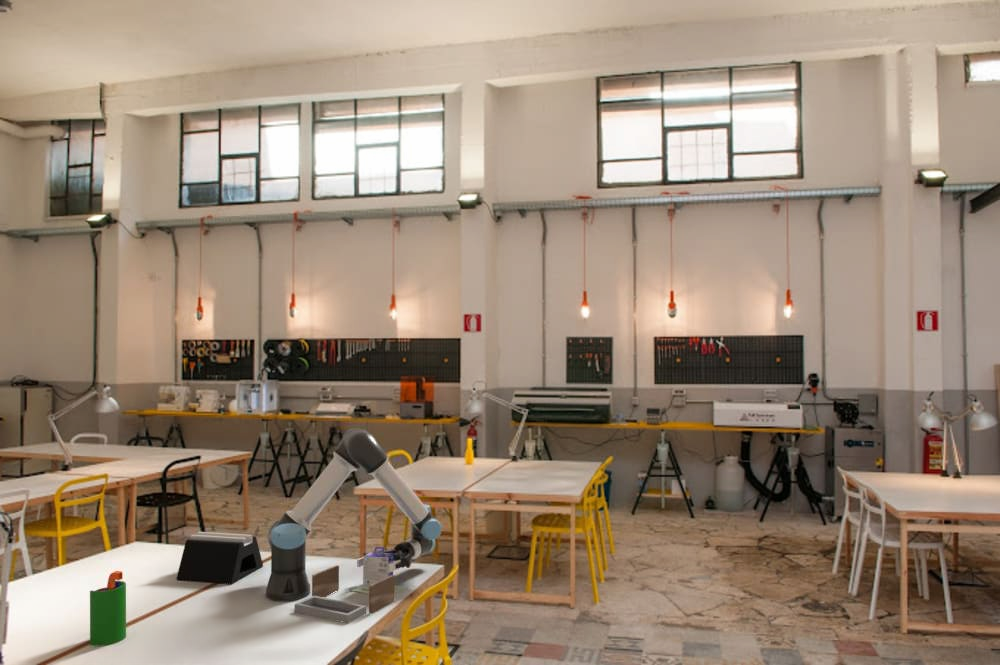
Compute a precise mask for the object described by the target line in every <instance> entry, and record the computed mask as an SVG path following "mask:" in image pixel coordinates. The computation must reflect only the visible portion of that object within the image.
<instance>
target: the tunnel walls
mask: <svg viewBox="0 0 1000 665" xmlns="http://www.w3.org/2000/svg"><path fill="white" fill-rule="evenodd" d="M395 577H396V576H395V575H394V574H393V575H391V576H389V577H387V578H384V579H382V580H380V581H378V582H376V583H374V584H372V585H369V594H368V614H370V613H371V614H370V615H372V614H374V613H376V612H377V611H379V609H380V610H381V609H384V608H385V607H387V606H389V605H390V604H393V603H395V594H394V593H395V585H396V584H395V583H396V582H395ZM311 584H312V585H311V597H312V596H318V597H324V598H326V597H328V596H327V595H329V594H331V593H333V592H335V591H338V590H340V565H337V564H336V565H334V566H331V567H328V568H327V569H324V570H322V571H319V572H317V573H314V574H311ZM338 592H339V591H338ZM335 593H336V592H335ZM333 594H334V593H333ZM331 595H332V594H331ZM325 596H326V597H325ZM329 596H330V595H329ZM375 611H376V612H375ZM373 612H374V613H373Z"/></svg>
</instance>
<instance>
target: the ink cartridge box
mask: <svg viewBox="0 0 1000 665" xmlns="http://www.w3.org/2000/svg"><path fill="white" fill-rule="evenodd" d="M374 547H375V548H374V551H373V552H374V553H371V552H372V551H369V553H368V552H366V553H367V554H366V555H364V554H363V556H362V557H363V566H362V571H363V572H362V581H363V582H362V584H363V589H367V590H369V585H372V584H374V583H376V582H378V581H380V580H382V579H384V578H387V577H389V576H391V575H394V571H392V572H390V573H389V572H388V564H391V563H393V562H394V561H393V554H392V553H384V549H386V547H385V546H374ZM379 549H380V550H383V551H380V550H379Z"/></svg>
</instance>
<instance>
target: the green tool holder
mask: <svg viewBox="0 0 1000 665" xmlns="http://www.w3.org/2000/svg"><path fill="white" fill-rule="evenodd" d="M126 637H127V583H126V582H125V581H123V571H120V570H115V571H113V572H111V573H110V574H109V576H108V579H107V584H106V587H101V588H98V589H96V590H89V645H90V646H93V647H94V646H97V647H99V646H108V645H113V644H116V643H118V642H121V641H123V640H124V639H125V638H126Z"/></svg>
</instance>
